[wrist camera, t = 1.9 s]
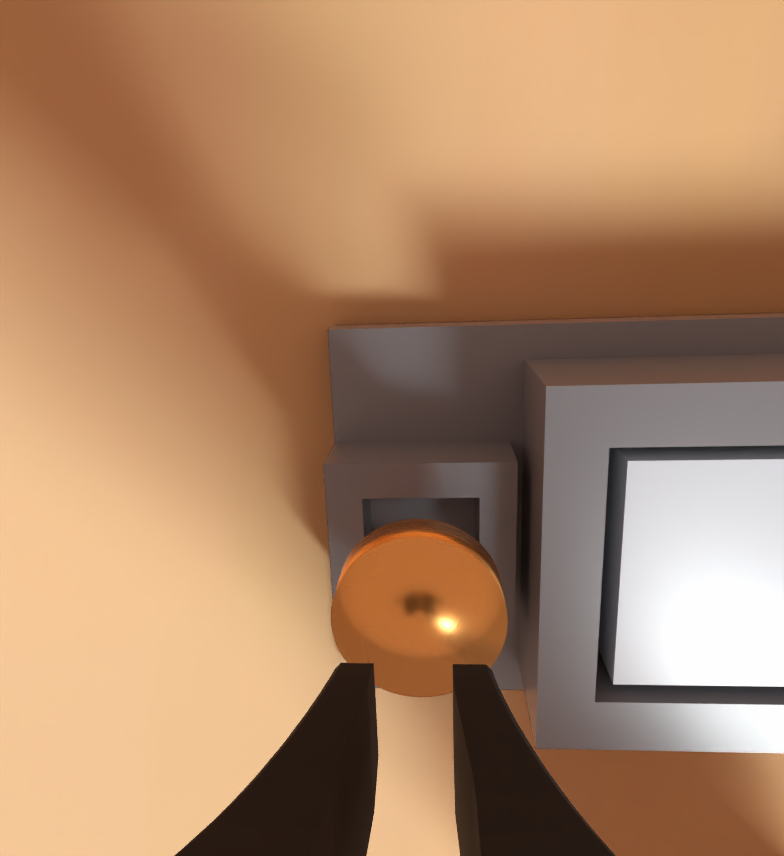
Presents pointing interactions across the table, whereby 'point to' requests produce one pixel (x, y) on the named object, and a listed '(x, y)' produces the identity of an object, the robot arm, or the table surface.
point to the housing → (552, 486)
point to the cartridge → (694, 566)
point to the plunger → (419, 606)
